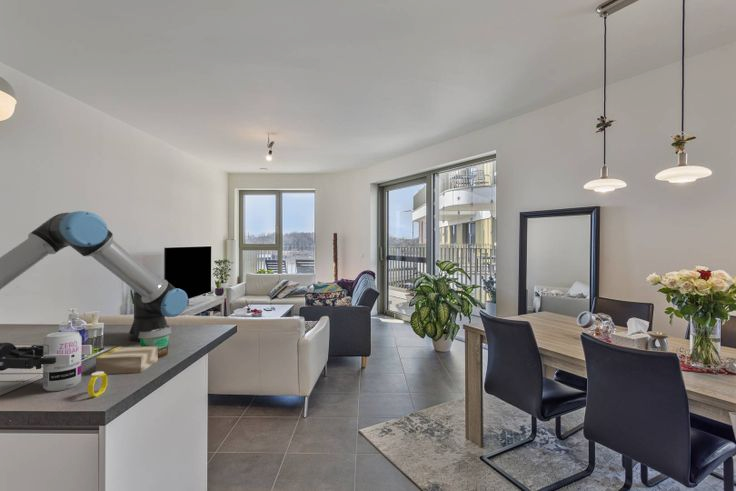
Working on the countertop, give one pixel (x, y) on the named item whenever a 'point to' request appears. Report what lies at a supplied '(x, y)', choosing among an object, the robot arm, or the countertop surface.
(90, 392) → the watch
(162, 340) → the food container
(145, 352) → the loading dock
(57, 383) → the supplement can
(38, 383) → the countertop surface
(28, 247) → the robot arm
